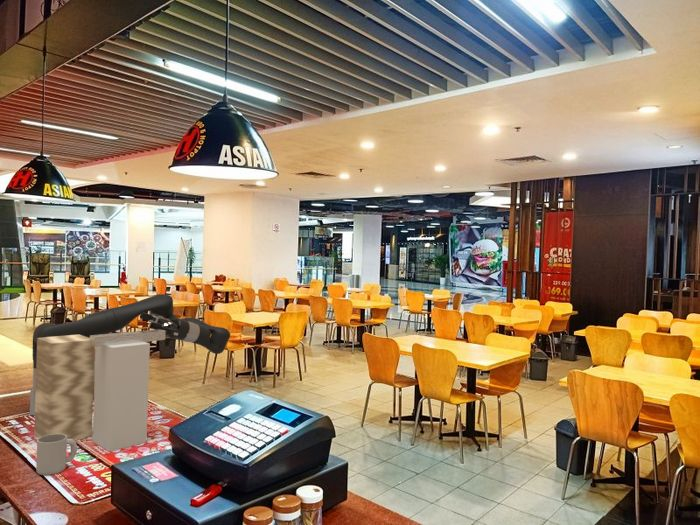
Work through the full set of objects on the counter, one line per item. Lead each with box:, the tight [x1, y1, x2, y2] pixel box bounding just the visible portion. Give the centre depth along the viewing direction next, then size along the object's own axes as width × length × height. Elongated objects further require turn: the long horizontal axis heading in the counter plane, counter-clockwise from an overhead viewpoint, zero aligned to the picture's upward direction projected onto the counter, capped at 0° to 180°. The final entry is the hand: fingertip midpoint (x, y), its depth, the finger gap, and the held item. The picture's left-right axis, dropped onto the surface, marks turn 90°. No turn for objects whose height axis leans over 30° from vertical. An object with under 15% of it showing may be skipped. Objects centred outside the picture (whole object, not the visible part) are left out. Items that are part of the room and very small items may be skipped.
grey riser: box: [92, 342, 151, 453], centre depth 167 cm, size 12×12×32 cm
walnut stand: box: [33, 334, 95, 441], centre depth 170 cm, size 13×13×32 cm
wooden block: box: [89, 329, 166, 347], centre depth 168 cm, size 23×4×3 cm, turn 138°
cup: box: [35, 434, 78, 476], centre depth 145 cm, size 7×10×9 cm
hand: (145, 319), depth 182 cm, fingers open, 8 cm apart
